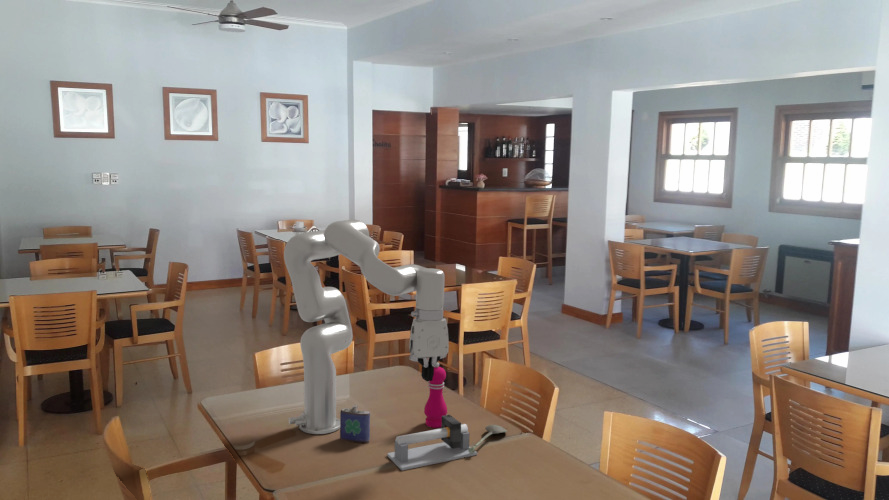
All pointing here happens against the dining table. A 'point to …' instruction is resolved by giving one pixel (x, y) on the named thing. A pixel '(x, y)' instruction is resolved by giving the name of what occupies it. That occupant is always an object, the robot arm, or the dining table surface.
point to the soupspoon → (492, 430)
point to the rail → (428, 449)
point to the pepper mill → (436, 399)
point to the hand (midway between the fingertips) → (427, 379)
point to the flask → (354, 425)
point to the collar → (452, 431)
